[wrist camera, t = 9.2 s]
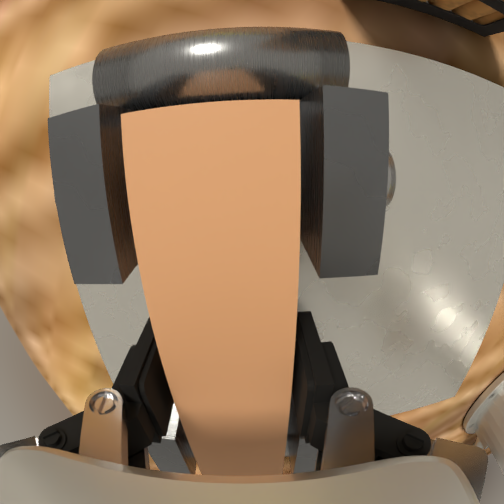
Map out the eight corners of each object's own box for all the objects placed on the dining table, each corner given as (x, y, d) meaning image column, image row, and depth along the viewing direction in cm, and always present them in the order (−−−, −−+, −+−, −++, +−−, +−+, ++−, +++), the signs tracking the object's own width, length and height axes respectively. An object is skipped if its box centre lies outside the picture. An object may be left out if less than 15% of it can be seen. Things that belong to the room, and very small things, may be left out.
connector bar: (276, 430, 16) (281, 484, 12) (211, 432, 16) (207, 485, 12) (279, 113, 9) (299, 99, 6) (165, 120, 9) (121, 114, 6)
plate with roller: (450, 389, 21) (481, 442, 14) (137, 417, 21) (118, 486, 14) (514, 97, 11) (590, 104, 5) (59, 77, 11) (-32, 64, 5)
